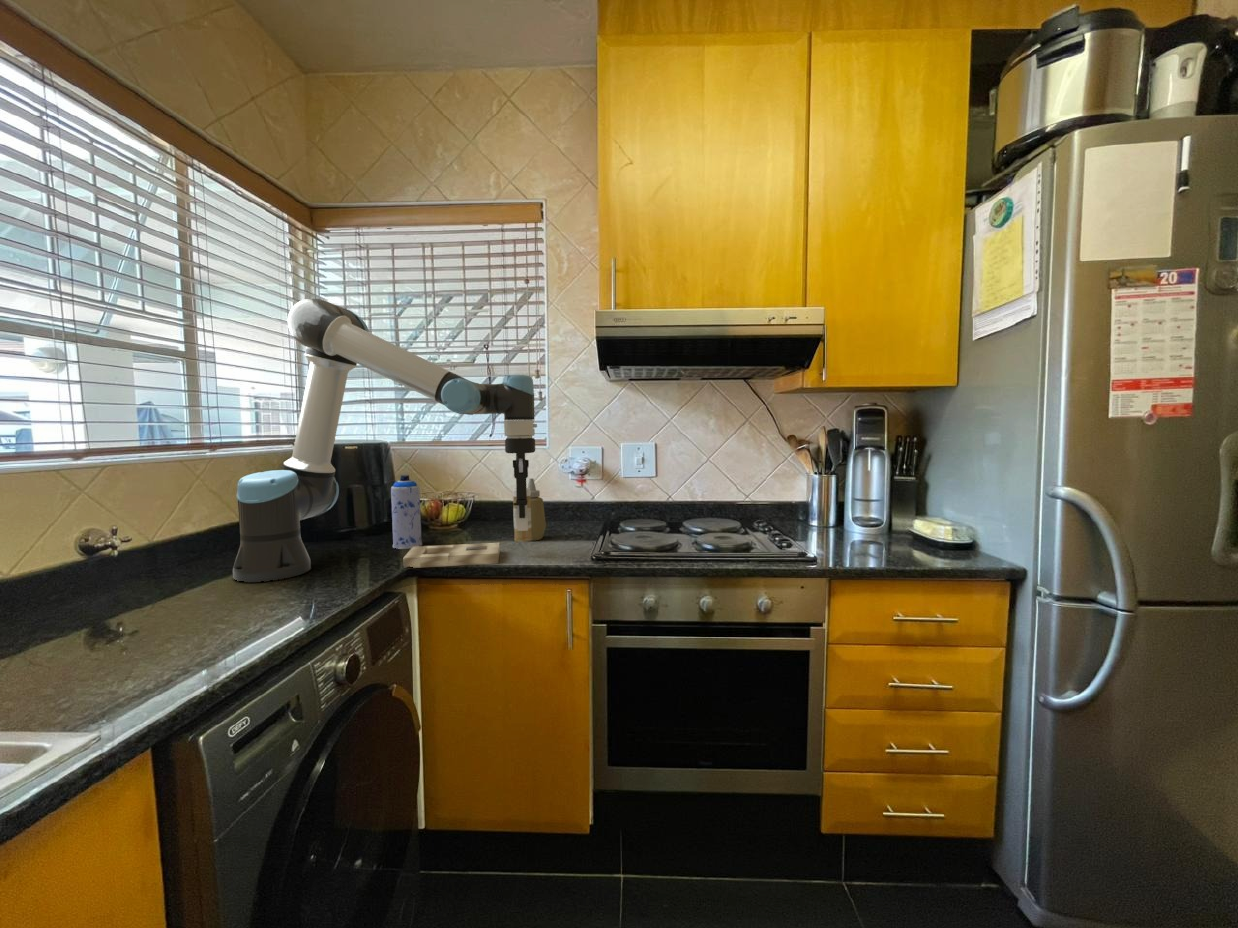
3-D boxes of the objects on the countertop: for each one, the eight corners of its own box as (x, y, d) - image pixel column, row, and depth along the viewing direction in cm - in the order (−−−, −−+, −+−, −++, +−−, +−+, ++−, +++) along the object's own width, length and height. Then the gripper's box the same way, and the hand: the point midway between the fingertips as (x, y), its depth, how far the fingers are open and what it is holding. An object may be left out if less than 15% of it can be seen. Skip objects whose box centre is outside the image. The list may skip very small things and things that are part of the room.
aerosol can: (419, 541, 156) (416, 473, 154) (425, 546, 149) (422, 475, 148) (390, 544, 152) (387, 475, 150) (395, 550, 145) (391, 477, 144)
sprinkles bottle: (524, 537, 140) (523, 486, 139) (535, 540, 137) (534, 488, 136) (510, 540, 136) (508, 488, 135) (521, 543, 133) (519, 489, 132)
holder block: (403, 568, 127) (403, 556, 127) (413, 556, 139) (412, 545, 138) (498, 563, 131) (497, 552, 131) (499, 551, 143) (499, 541, 142)
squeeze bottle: (549, 536, 162) (548, 477, 160) (542, 542, 154) (541, 480, 152) (523, 535, 162) (521, 477, 161) (515, 541, 154) (513, 480, 153)
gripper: (536, 437, 127) (538, 534, 128) (534, 436, 144) (536, 521, 145) (503, 438, 125) (506, 536, 127) (505, 436, 142) (508, 523, 144)
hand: (522, 528), depth 136 cm, fingers closed on sprinkles bottle, 4 cm apart
